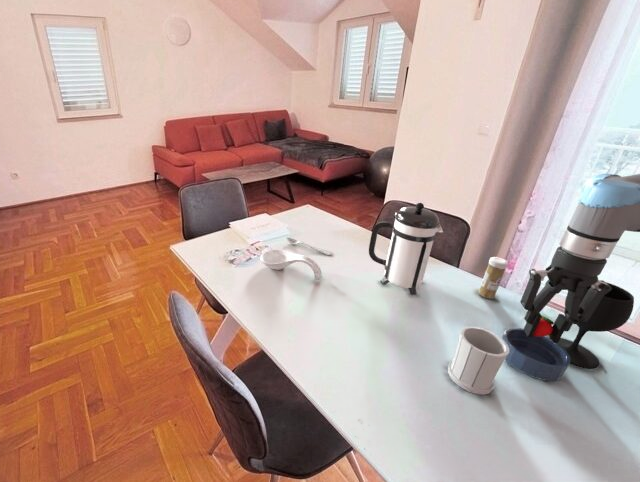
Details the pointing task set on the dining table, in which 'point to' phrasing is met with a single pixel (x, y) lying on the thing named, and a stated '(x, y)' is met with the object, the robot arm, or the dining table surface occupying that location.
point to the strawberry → (544, 327)
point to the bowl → (535, 355)
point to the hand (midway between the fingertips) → (539, 336)
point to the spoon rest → (288, 261)
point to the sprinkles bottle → (492, 277)
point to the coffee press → (407, 246)
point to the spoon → (307, 245)
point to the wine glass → (599, 324)
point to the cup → (477, 360)
